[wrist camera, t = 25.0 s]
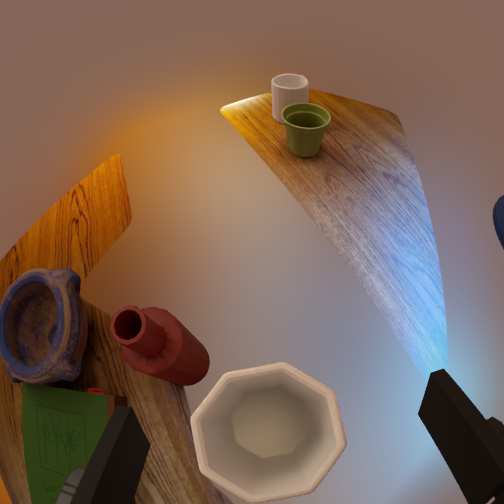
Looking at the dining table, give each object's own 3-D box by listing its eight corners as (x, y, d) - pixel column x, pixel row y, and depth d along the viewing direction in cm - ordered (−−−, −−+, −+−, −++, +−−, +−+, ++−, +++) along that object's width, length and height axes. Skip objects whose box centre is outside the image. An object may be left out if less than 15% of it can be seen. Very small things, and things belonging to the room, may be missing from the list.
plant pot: (271, 151, 57) (270, 117, 50) (296, 130, 61) (297, 97, 53) (311, 170, 54) (315, 134, 47) (333, 146, 57) (339, 113, 50)
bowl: (26, 388, 35) (-13, 376, 26) (34, 295, 44) (1, 271, 35) (105, 395, 35) (65, 386, 27) (107, 285, 44) (76, 256, 36)
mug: (318, 106, 66) (321, 73, 57) (297, 128, 61) (298, 91, 53) (290, 98, 68) (290, 65, 60) (266, 118, 64) (264, 83, 55)
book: (142, 540, 23) (131, 548, 20) (47, 509, 23) (34, 512, 20) (126, 392, 36) (114, 389, 32) (37, 380, 36) (23, 376, 33)
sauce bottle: (219, 357, 38) (181, 317, 22) (189, 395, 35) (129, 381, 20) (182, 329, 40) (128, 273, 25) (153, 365, 38) (81, 329, 22)
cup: (281, 366, 37) (289, 331, 21) (329, 430, 32) (377, 446, 16) (210, 410, 34) (160, 408, 18) (256, 476, 29) (244, 528, 13)
